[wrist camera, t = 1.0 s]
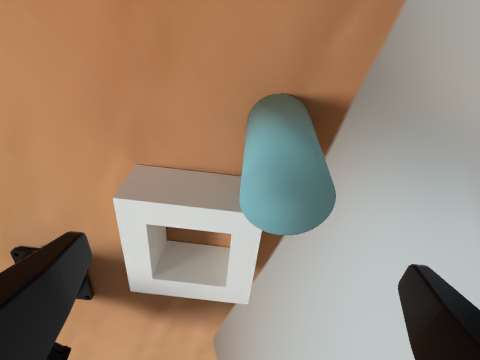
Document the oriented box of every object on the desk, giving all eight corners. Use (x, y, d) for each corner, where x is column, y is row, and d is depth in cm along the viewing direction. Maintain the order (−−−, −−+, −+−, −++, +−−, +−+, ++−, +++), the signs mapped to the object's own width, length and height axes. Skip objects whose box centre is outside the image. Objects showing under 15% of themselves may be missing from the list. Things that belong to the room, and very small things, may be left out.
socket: (250, 264, 27) (248, 304, 23) (146, 252, 27) (130, 291, 23) (264, 179, 21) (264, 215, 18) (135, 164, 21) (112, 197, 18)
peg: (302, 154, 20) (322, 239, 14) (244, 148, 20) (235, 230, 14) (316, 97, 18) (348, 165, 11) (251, 90, 18) (244, 153, 11)
